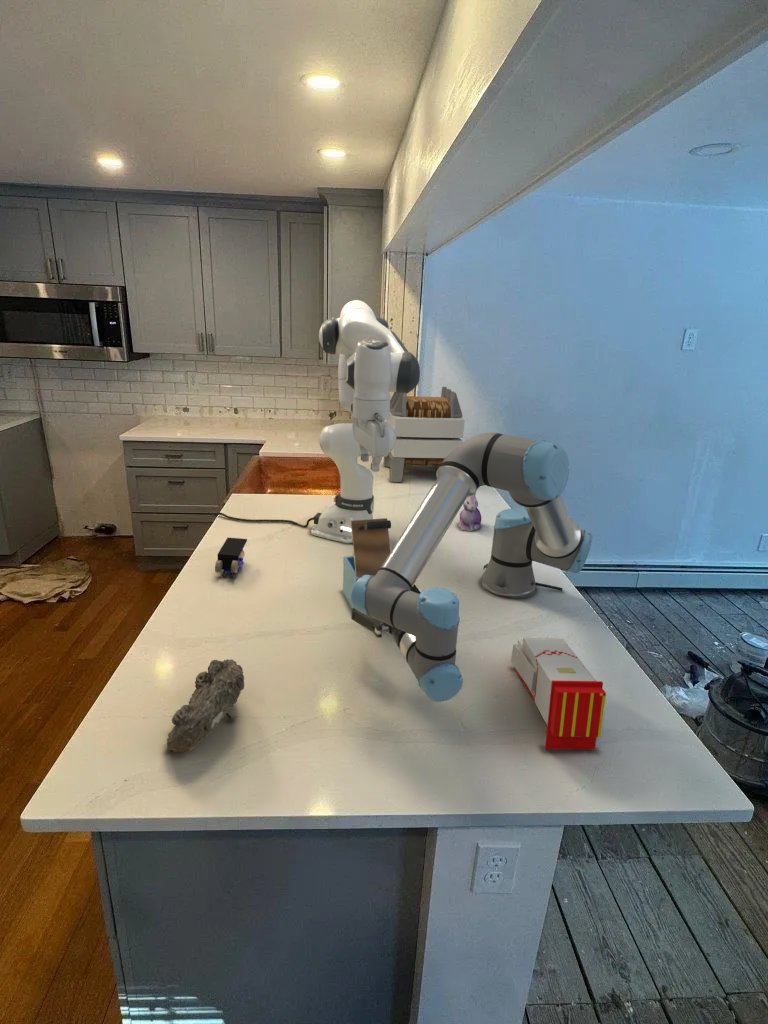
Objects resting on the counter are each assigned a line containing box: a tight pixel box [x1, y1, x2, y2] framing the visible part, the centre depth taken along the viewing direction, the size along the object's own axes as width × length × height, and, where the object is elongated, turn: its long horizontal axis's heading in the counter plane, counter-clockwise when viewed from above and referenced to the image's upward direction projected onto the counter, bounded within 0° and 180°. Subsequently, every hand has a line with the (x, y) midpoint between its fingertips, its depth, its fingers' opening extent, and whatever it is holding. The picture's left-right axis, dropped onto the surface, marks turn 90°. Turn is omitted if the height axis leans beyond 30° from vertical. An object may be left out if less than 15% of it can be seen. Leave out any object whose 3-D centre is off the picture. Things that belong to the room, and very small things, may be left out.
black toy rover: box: [214, 537, 248, 578], centre depth 166 cm, size 7×8×15 cm
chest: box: [342, 555, 375, 610], centre depth 151 cm, size 14×10×11 cm
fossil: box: [166, 658, 245, 754], centre depth 106 cm, size 22×10×15 cm
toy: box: [510, 637, 607, 751], centre depth 115 cm, size 12×13×30 cm
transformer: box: [383, 386, 465, 483], centre depth 268 cm, size 34×33×41 cm
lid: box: [351, 517, 392, 577], centre depth 140 cm, size 14×10×9 cm
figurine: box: [458, 491, 482, 532], centre depth 206 cm, size 9×10×15 cm
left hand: (369, 465), depth 141 cm, fingers open, 8 cm apart
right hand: (385, 591), depth 134 cm, fingers open, 13 cm apart
